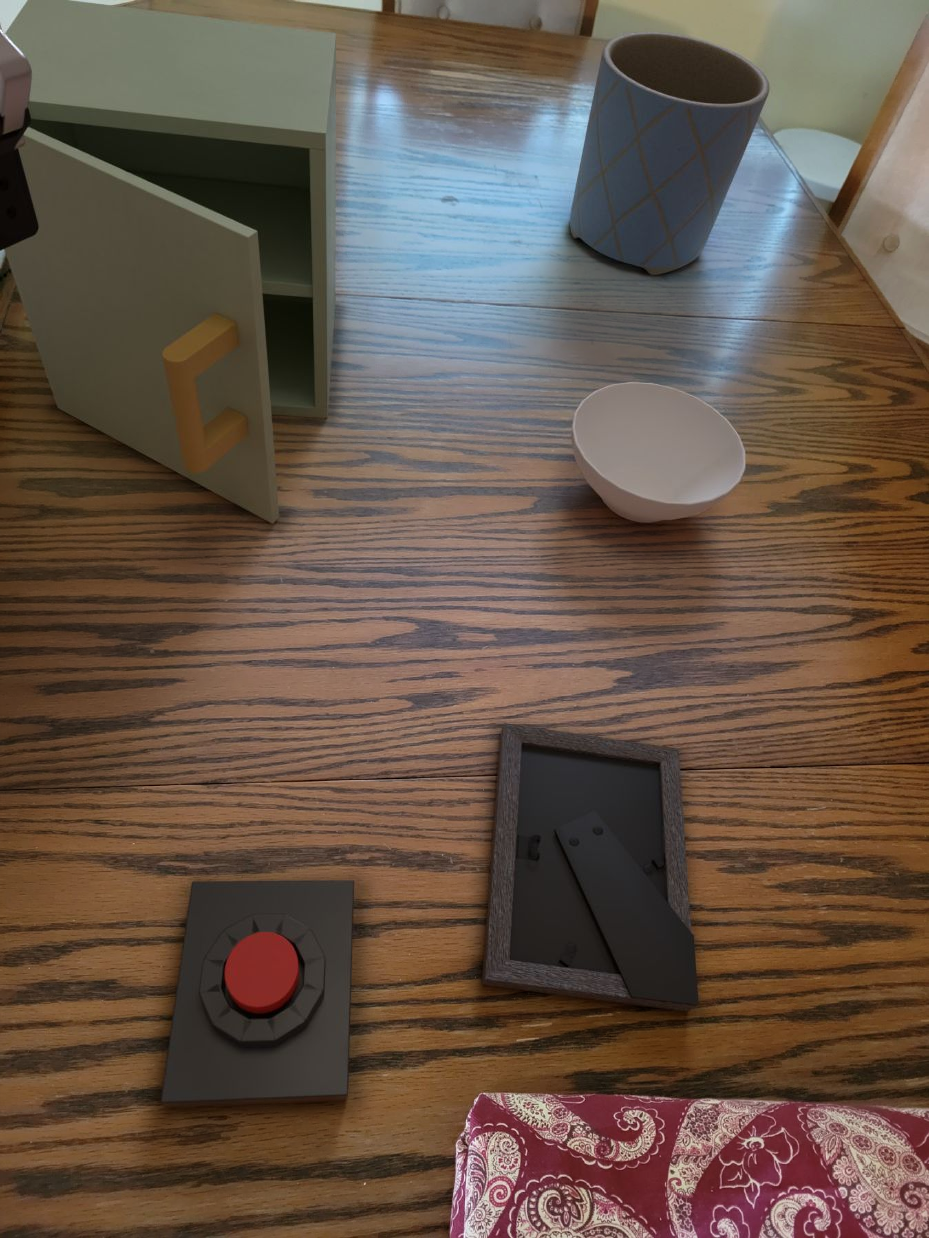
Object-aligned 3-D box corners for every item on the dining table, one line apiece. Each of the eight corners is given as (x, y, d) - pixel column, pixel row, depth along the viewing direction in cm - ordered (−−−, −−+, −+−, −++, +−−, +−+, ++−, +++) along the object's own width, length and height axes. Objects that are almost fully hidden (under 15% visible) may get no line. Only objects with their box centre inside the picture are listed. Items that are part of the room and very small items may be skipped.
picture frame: (687, 1011, 53) (671, 757, 64) (698, 1004, 51) (680, 745, 62) (481, 984, 52) (500, 733, 63) (486, 977, 51) (504, 720, 61)
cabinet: (327, 418, 81) (325, 133, 60) (63, 401, 78) (-37, 93, 57) (335, 309, 92) (336, 33, 70) (103, 289, 88) (30, -5, 67)
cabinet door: (228, 567, 69) (182, 279, 48) (6, 443, 74) (-123, 132, 53) (279, 517, 73) (258, 230, 52) (65, 402, 78) (-34, 98, 57)
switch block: (347, 1100, 48) (348, 1091, 45) (166, 1107, 46) (154, 1098, 43) (353, 890, 55) (354, 869, 52) (196, 892, 53) (187, 870, 50)
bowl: (743, 551, 78) (775, 498, 72) (581, 564, 74) (601, 510, 69) (684, 434, 87) (708, 379, 81) (537, 440, 83) (552, 383, 77)
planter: (728, 239, 112) (794, 74, 96) (667, 298, 101) (730, 124, 85) (605, 184, 116) (649, 18, 100) (536, 235, 106) (572, 59, 90)
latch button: (296, 1013, 47) (295, 1006, 45) (223, 1014, 46) (220, 1008, 45) (301, 939, 49) (300, 930, 48) (231, 940, 49) (228, 931, 47)
